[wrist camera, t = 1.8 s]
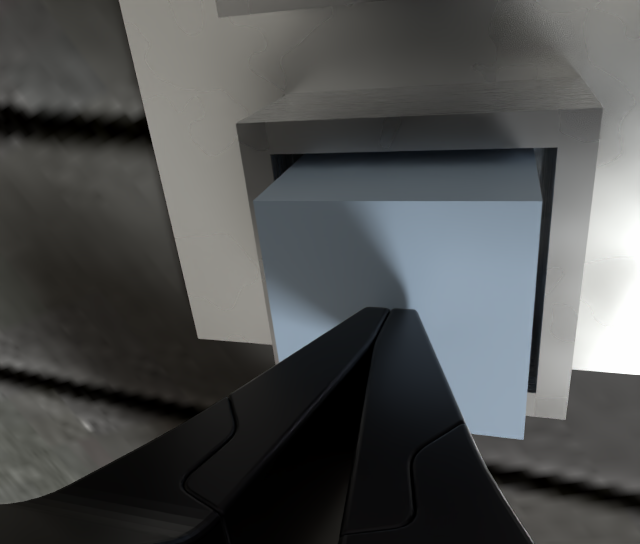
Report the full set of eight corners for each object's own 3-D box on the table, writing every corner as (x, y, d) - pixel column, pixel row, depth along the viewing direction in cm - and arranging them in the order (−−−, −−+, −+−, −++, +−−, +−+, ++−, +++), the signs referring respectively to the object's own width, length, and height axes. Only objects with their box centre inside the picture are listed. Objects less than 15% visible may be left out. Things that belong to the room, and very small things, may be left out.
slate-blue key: (533, 144, 10) (542, 201, 8) (519, 343, 12) (523, 439, 10) (307, 150, 12) (253, 200, 9) (327, 330, 14) (287, 411, 11)
